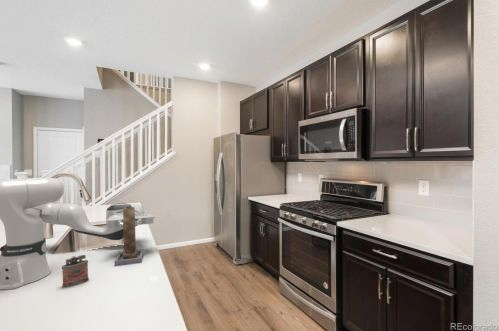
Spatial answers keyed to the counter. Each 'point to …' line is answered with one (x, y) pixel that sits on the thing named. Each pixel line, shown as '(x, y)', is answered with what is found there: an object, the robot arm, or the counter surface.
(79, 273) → the lighter
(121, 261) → the tray
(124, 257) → the pepper mill
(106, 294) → the counter surface
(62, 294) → the counter surface
